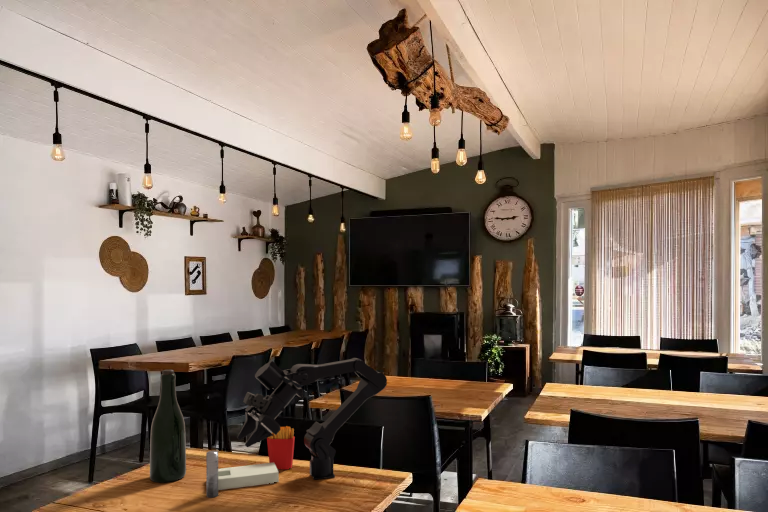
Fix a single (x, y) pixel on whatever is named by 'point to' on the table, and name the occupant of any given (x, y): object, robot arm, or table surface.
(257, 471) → the socket board
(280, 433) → the french fries
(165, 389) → the beer bottle
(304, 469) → the table surface
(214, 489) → the peg
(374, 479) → the table surface
